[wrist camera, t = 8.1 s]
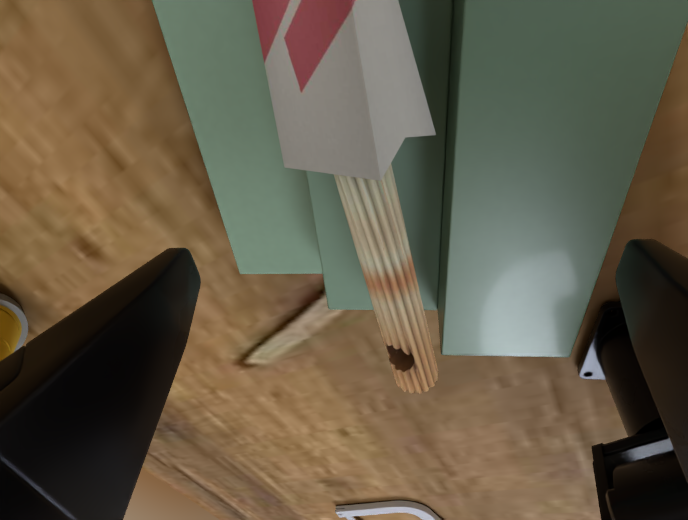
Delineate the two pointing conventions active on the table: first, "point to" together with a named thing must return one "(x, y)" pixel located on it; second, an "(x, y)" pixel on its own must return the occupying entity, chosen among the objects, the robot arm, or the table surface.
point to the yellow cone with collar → (11, 326)
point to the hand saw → (386, 509)
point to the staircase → (451, 157)
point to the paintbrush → (356, 142)
